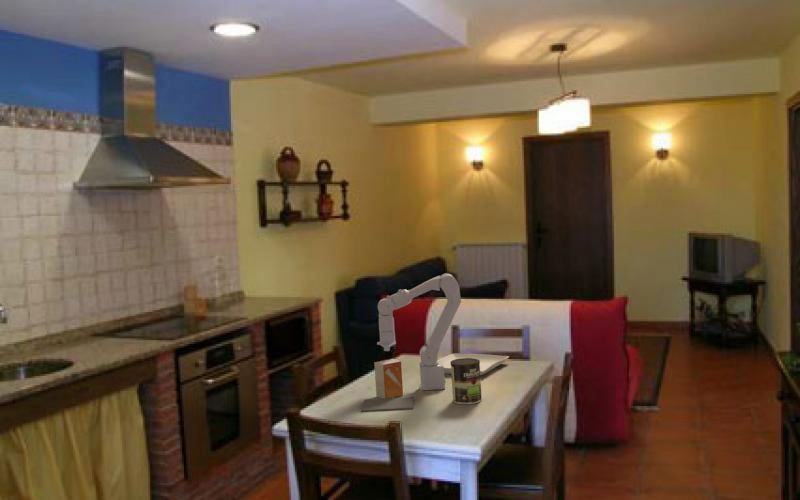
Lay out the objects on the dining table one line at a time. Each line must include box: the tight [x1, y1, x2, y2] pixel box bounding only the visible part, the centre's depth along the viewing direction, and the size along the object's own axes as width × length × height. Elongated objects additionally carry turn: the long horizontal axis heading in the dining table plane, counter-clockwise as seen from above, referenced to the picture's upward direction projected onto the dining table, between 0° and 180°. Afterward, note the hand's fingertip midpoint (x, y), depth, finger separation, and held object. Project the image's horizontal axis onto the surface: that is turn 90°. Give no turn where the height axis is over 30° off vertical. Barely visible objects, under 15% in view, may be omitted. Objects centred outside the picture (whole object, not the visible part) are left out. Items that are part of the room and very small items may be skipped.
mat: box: [360, 396, 415, 413], centre depth 255 cm, size 18×13×1 cm
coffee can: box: [450, 358, 483, 406], centre depth 254 cm, size 10×10×14 cm
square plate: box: [437, 353, 510, 376], centre depth 301 cm, size 27×27×4 cm
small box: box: [373, 358, 404, 399], centre depth 267 cm, size 8×6×13 cm
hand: (389, 365), depth 274 cm, fingers closed
